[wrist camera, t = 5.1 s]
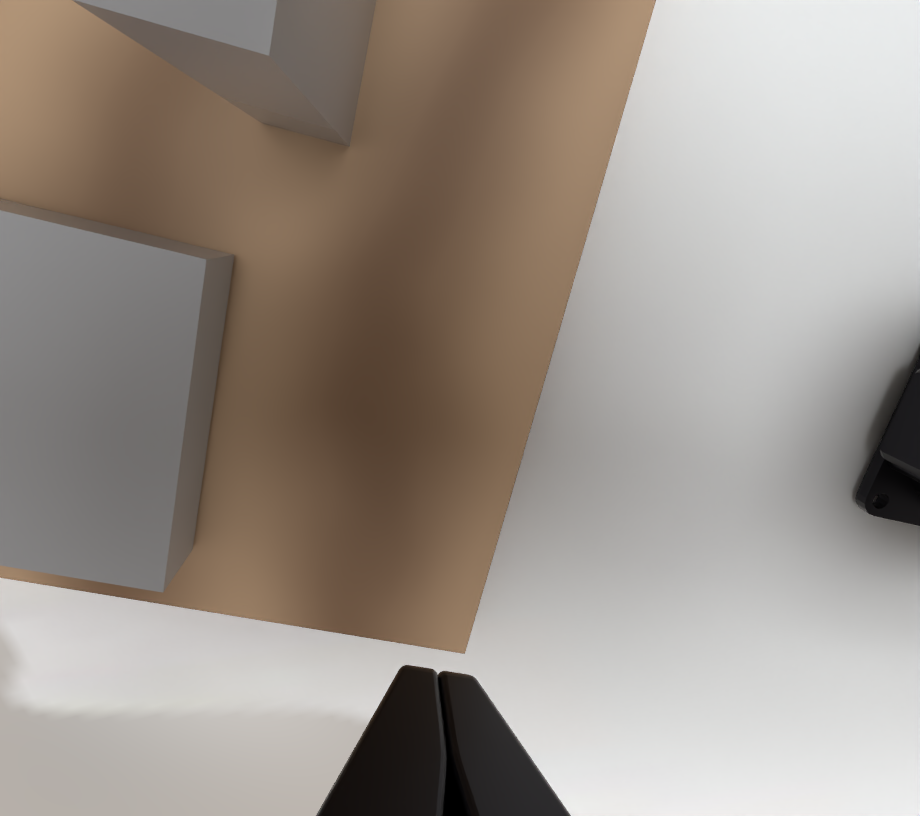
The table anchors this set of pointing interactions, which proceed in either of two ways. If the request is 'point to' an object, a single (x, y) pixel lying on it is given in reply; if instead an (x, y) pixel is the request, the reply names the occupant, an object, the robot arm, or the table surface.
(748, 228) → the table surface
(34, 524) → the tile
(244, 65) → the tile
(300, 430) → the board
